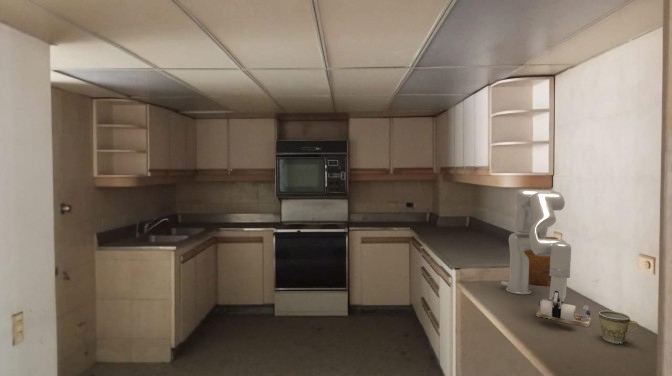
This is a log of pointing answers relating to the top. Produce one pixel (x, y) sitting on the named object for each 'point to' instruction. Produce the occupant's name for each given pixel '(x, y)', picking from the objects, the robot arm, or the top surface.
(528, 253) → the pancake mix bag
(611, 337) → the ceramic cup
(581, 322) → the roll cradle
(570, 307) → the paper roll
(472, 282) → the top surface
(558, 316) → the robot arm
